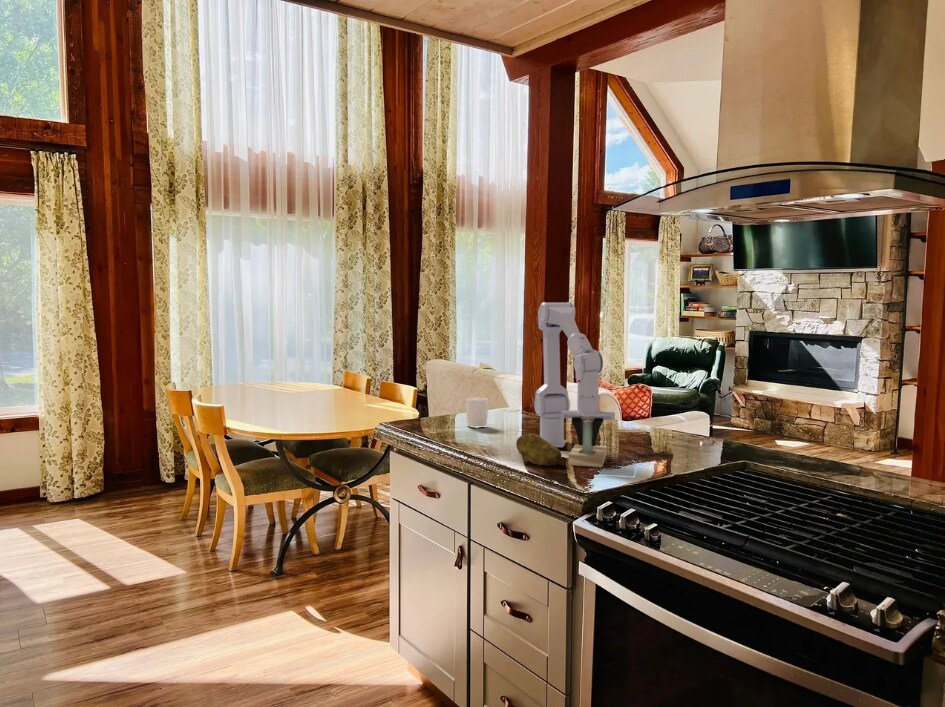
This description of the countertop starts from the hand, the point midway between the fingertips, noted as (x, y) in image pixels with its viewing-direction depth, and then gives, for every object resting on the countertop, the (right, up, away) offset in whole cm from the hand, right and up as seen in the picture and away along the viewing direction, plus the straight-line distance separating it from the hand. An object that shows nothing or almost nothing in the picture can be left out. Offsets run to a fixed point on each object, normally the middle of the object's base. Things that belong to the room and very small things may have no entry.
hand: (587, 445), depth 195 cm
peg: (0, -4, 0) cm, 4 cm away
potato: (-14, -5, -1) cm, 15 cm away
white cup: (-30, -1, +55) cm, 62 cm away
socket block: (0, -5, +2) cm, 5 cm away
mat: (-5, -4, +10) cm, 12 cm away
